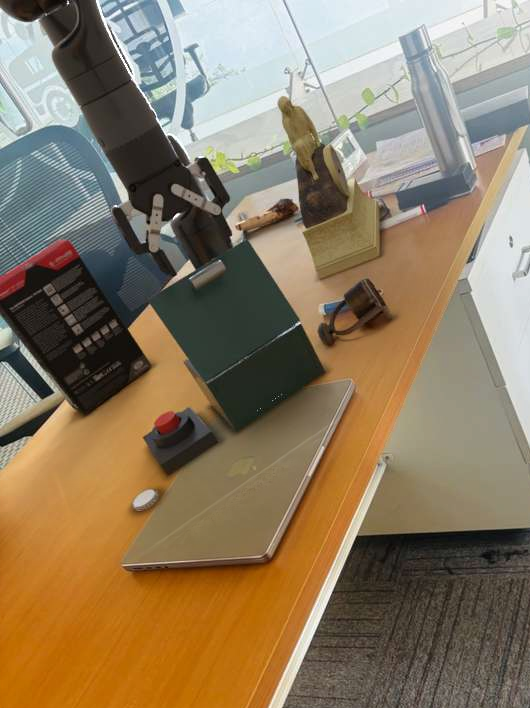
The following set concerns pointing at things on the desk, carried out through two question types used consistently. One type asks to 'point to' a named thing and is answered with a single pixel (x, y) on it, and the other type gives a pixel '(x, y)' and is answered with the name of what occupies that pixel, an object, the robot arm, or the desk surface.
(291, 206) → the bone fish hook
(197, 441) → the switch block
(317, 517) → the desk surface
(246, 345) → the lid
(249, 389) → the dark green open box
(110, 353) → the graphics card box
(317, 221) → the decorative clock
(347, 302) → the brown handled cylinder
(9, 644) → the desk surface
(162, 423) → the button
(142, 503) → the bottle cap
